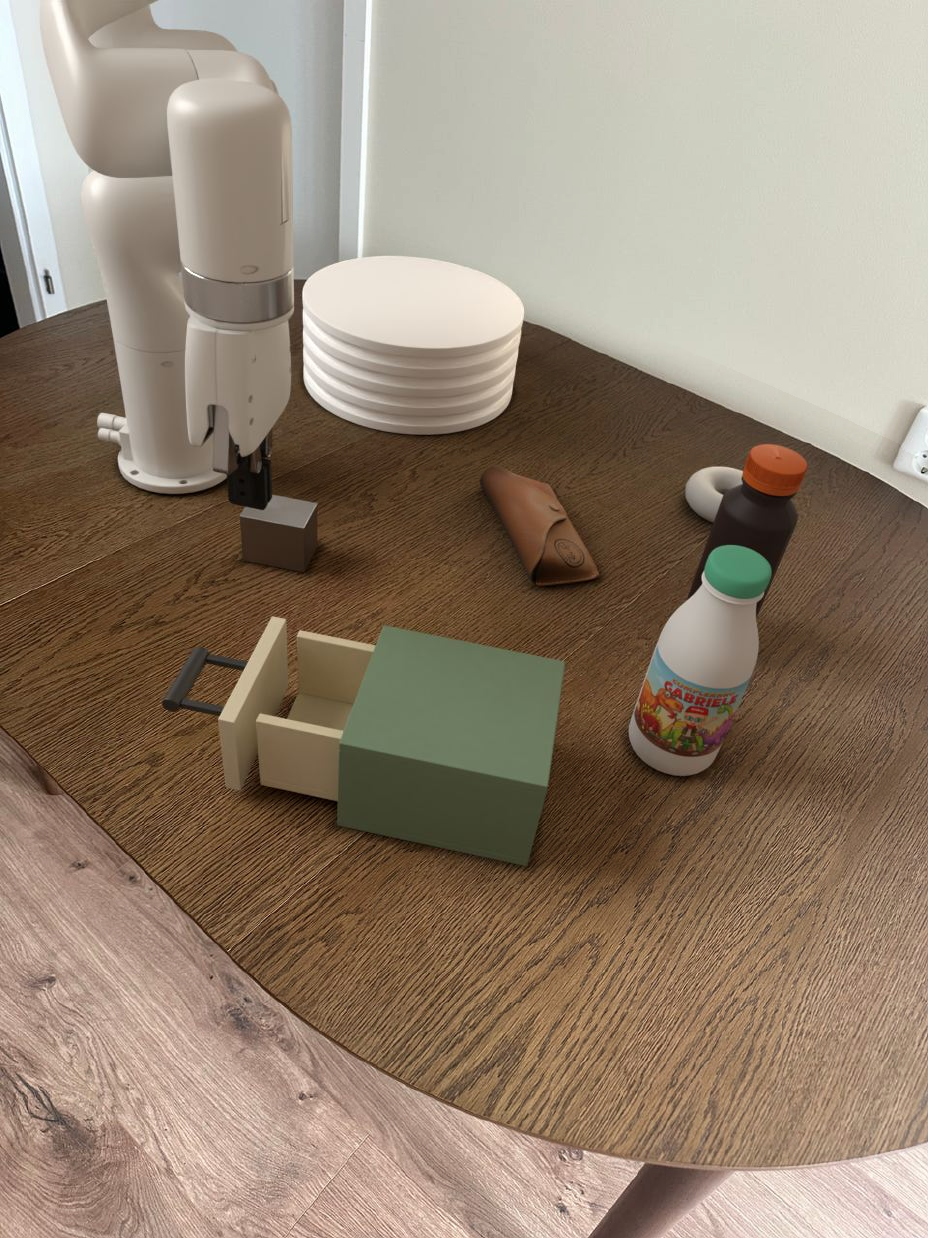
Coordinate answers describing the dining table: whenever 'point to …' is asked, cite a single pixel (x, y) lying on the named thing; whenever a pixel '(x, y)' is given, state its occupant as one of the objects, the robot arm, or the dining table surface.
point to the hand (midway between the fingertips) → (250, 501)
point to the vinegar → (758, 509)
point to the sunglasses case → (538, 529)
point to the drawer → (247, 723)
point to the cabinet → (450, 745)
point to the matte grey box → (280, 533)
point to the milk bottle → (701, 666)
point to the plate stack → (410, 343)
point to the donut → (710, 489)
